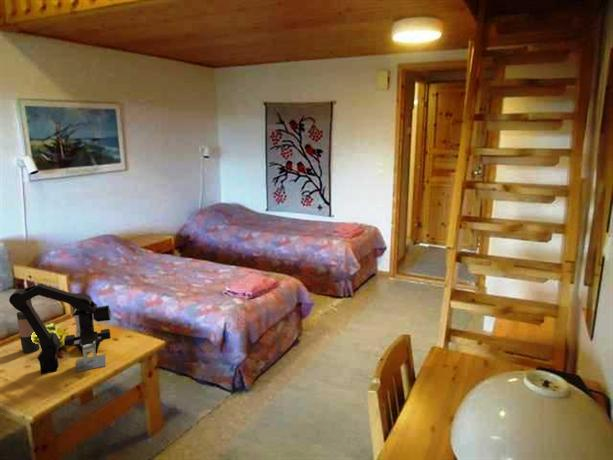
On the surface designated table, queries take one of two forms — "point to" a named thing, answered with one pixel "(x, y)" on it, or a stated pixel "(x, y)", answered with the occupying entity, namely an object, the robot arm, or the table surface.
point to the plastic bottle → (77, 325)
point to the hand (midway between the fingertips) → (90, 354)
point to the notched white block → (88, 349)
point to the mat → (90, 363)
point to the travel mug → (26, 335)
